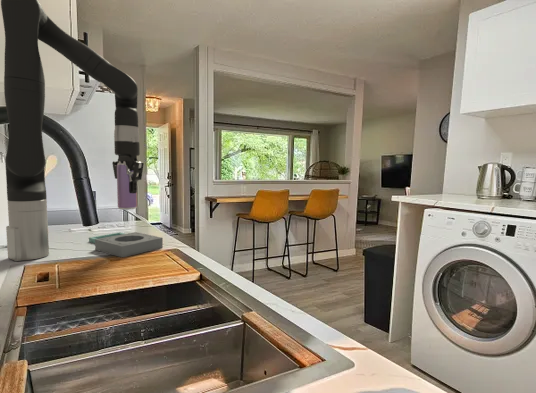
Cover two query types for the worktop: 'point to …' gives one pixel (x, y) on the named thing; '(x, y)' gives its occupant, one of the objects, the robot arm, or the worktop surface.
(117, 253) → the socket block
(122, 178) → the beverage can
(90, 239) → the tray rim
